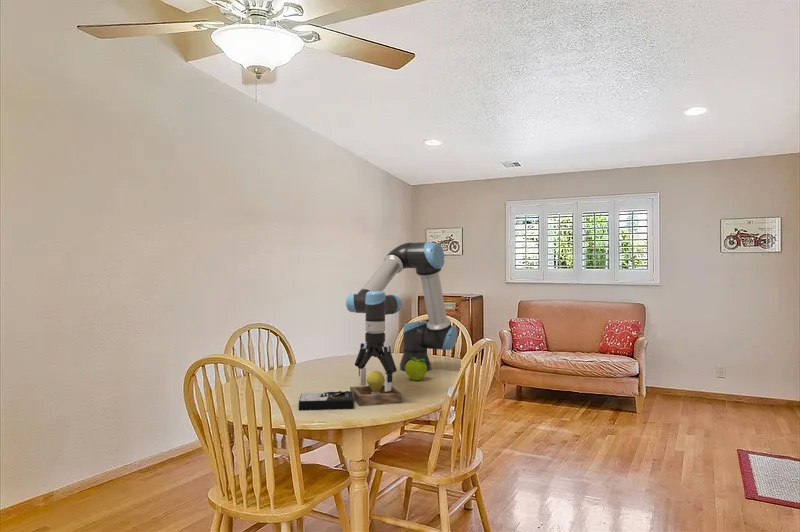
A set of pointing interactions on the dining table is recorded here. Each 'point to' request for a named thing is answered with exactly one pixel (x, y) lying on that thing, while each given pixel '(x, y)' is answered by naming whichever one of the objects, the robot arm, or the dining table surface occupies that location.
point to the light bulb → (375, 381)
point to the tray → (375, 396)
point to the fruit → (416, 368)
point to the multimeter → (326, 400)
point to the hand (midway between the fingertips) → (375, 388)
